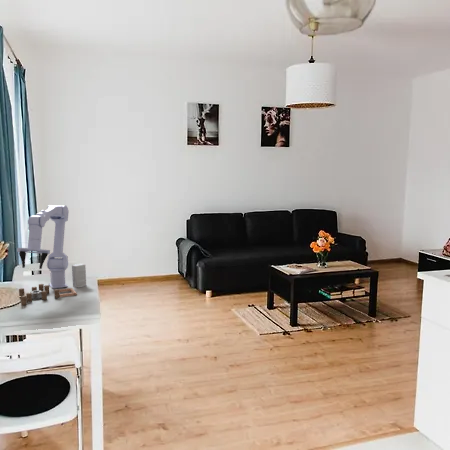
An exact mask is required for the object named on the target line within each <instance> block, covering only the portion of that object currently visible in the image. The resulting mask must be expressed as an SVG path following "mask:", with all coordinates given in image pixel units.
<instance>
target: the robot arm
mask: <svg viewBox="0 0 450 450" xmlns="http://www.w3.org/2000/svg"><path fill="white" fill-rule="evenodd" d="M49 220H50V221H52V222H54V236H53V238H54V239H53V252H51V250H50V249H44V248H41V246H42V245H41V244H42V234H43V228H44V227H45V226H46V223H48V221H49ZM68 220H69V208H68V206H67V205H65V204H64V205H58V204H57V205H53V204H48V205H47V207H46V209H41V210H40V211H39V212H37V213H36V214H35V215H34V214H33V215H30V216H29V217H28V218H27V225H28V228H27V229H28V239H27V241H28V242H27V247H17V249H16V252H17V253H18V254H19V258H20V260H21V266H22V267H21V268H22V269H25V267H26V256H27V253H31V254H39V255H40V257H39V270H41V269H43V266H44V265H43V264H44V263H45V260H46V259H47V261H46V267H47V269H48V270H49V271H50V283H48V285H49V287H50V288H51V289H54V290H55V289H63V288H67V287H68V284H66V270H67V269H68V267H69V259H68V258H69V257H68V256H67V254H66V253H65V252H64V241H65V240H64V239H65V230H66V229H65V228H66V227H65V226H66V222H68ZM68 288H69V287H68Z"/></svg>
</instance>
